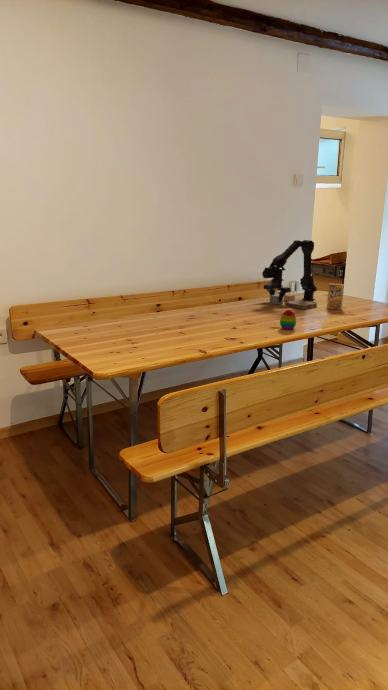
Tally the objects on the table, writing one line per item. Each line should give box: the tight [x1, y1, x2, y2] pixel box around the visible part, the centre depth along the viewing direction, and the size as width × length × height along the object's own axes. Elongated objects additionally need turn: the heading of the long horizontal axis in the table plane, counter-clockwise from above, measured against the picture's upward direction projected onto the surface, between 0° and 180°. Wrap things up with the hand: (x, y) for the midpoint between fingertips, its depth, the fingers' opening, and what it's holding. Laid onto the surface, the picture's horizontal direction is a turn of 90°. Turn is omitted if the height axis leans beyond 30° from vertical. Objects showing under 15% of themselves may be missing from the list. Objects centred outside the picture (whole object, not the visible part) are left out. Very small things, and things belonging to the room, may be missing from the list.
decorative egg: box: [279, 309, 297, 331], centre depth 264 cm, size 8×8×10 cm
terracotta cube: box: [283, 293, 296, 302], centre depth 338 cm, size 5×5×4 cm
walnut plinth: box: [284, 299, 318, 311], centre depth 320 cm, size 14×14×2 cm
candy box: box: [326, 283, 345, 311], centre depth 315 cm, size 9×4×15 cm, turn 70°
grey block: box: [269, 293, 284, 305], centre depth 330 cm, size 6×6×5 cm
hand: (276, 301), depth 331 cm, fingers closed on grey block, 6 cm apart
